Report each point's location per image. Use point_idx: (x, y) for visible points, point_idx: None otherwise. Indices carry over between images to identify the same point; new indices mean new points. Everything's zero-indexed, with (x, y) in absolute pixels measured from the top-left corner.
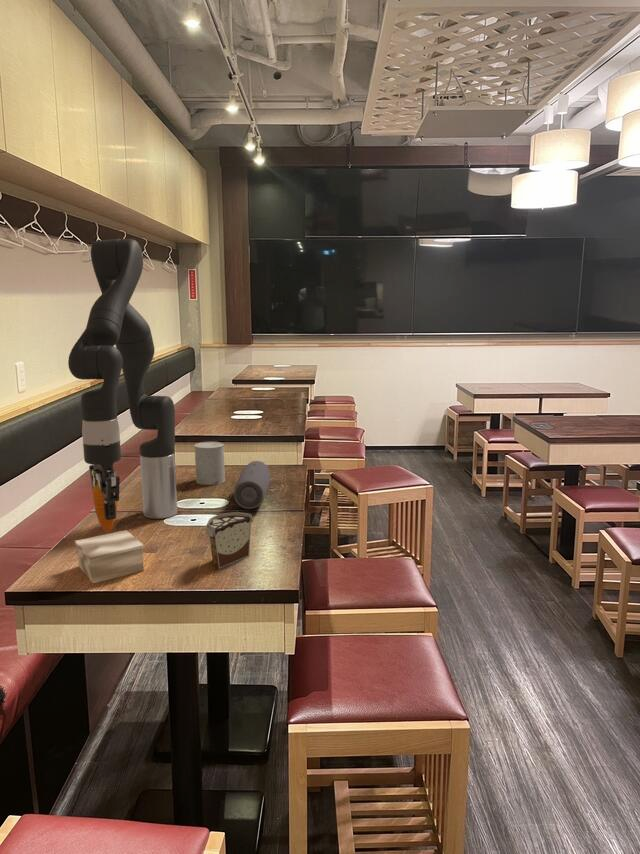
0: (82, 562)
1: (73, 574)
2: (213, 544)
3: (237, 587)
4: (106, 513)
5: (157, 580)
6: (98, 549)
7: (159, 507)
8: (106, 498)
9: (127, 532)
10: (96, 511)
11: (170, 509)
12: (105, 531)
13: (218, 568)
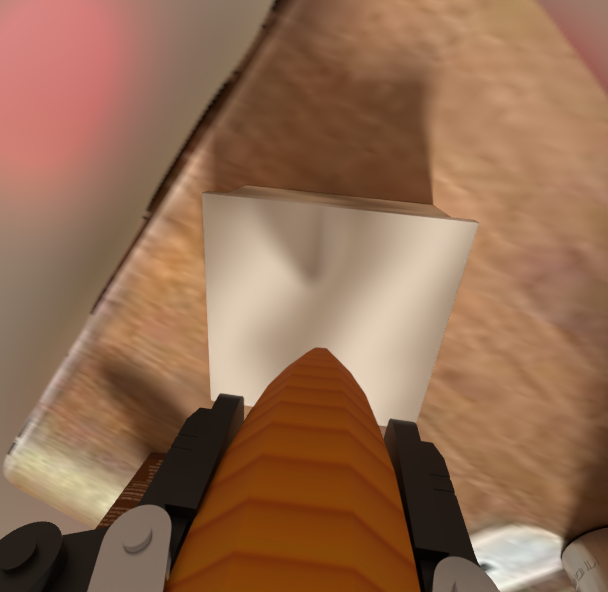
0: (371, 204)
1: (373, 159)
2: (120, 510)
3: (41, 428)
4: (205, 429)
5: (161, 336)
6: (275, 263)
7: (603, 580)
8: (8, 583)
9: (382, 421)
10: (323, 407)
11: (575, 582)
12: (314, 348)
13: (151, 453)
